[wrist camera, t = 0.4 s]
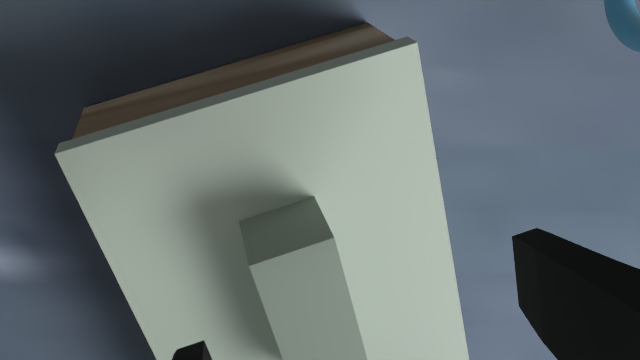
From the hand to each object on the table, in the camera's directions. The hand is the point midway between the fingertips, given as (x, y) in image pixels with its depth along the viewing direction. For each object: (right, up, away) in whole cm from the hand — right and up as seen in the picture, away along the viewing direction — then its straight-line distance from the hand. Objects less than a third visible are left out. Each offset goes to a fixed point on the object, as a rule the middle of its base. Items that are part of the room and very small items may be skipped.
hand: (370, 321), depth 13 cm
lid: (-2, 0, +7) cm, 7 cm away
